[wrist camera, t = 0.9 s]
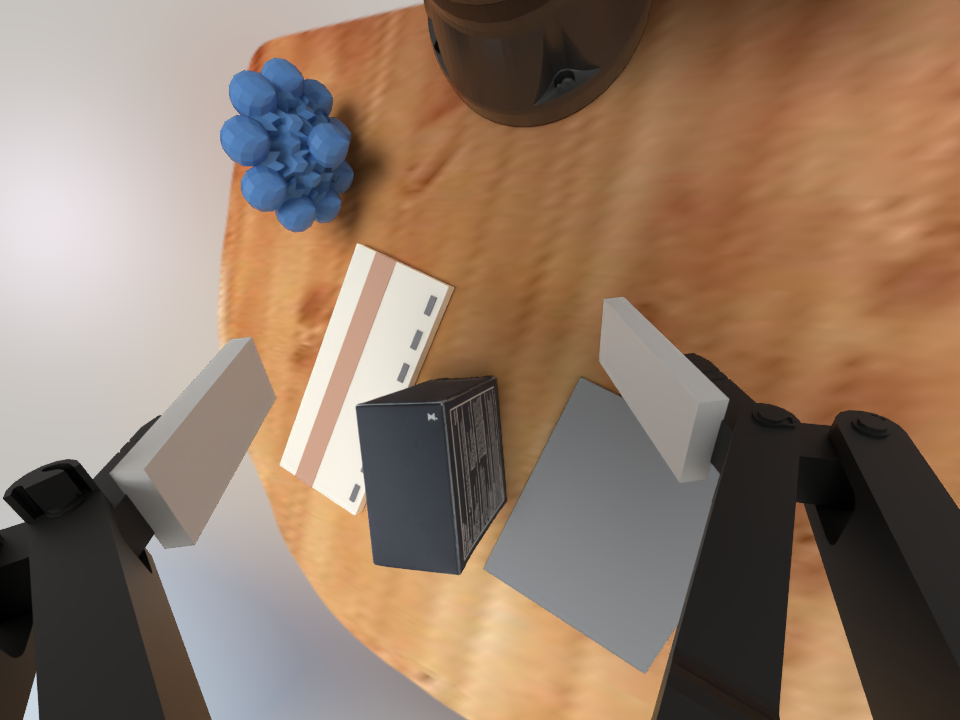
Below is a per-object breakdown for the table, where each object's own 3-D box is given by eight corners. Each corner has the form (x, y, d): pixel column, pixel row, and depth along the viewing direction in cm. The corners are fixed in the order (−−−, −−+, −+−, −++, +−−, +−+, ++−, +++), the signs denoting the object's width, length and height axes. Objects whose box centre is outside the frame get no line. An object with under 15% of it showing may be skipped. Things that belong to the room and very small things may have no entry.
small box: (423, 378, 35) (348, 401, 26) (497, 374, 33) (446, 397, 23) (436, 500, 36) (367, 568, 26) (509, 503, 34) (464, 579, 24)
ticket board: (365, 245, 36) (355, 242, 35) (454, 287, 34) (448, 286, 32) (289, 461, 41) (277, 465, 39) (362, 510, 38) (353, 516, 37)
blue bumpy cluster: (393, 244, 35) (286, 207, 24) (326, 248, 37) (198, 216, 26) (391, 97, 34) (277, -15, 23) (321, 110, 36) (185, 13, 25)
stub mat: (580, 376, 31) (580, 377, 31) (774, 471, 28) (776, 473, 28) (484, 566, 35) (483, 568, 35) (644, 669, 32) (645, 674, 31)
